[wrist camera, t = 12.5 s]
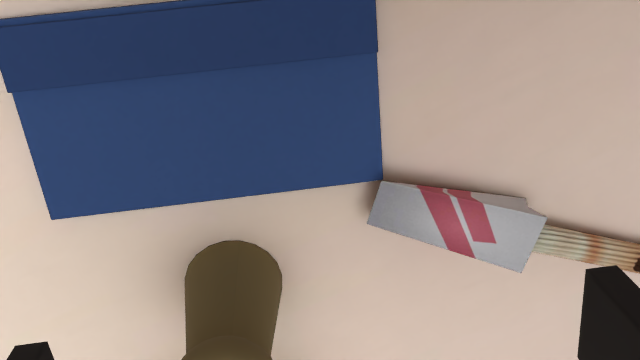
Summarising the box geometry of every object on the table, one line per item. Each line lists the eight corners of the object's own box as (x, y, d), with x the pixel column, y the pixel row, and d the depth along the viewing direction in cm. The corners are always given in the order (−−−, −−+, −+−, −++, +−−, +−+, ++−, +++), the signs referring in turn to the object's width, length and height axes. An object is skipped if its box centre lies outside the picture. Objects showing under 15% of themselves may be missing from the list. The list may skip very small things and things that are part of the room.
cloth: (371, -20, 30) (374, -19, 29) (381, 176, 34) (384, 183, 33) (-6, 19, 29) (-15, 22, 28) (54, 215, 33) (48, 223, 32)
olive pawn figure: (256, 335, 38) (255, 481, 28) (169, 303, 36) (134, 446, 26) (299, 262, 36) (314, 391, 26) (208, 225, 35) (187, 347, 24)
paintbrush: (391, 182, 31) (690, 250, 36) (379, 162, 34) (660, 229, 38) (368, 244, 32) (659, 301, 37) (358, 221, 35) (633, 278, 40)
